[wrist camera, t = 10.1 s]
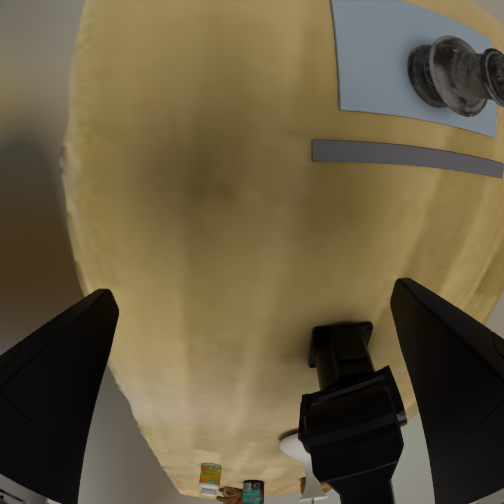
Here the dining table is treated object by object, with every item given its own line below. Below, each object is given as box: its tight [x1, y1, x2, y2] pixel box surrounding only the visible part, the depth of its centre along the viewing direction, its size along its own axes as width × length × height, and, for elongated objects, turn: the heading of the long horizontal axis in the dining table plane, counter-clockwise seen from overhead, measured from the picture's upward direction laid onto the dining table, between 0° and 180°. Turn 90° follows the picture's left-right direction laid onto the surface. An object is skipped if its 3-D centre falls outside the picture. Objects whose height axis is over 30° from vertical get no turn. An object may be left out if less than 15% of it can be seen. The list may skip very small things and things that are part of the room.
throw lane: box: [312, 0, 504, 178], centre depth 14 cm, size 14×20×1 cm
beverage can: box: [242, 480, 264, 504], centre depth 62 cm, size 7×7×12 cm
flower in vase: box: [279, 433, 328, 504], centre depth 31 cm, size 13×11×25 cm
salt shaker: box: [407, 35, 504, 117], centre depth 8 cm, size 6×6×12 cm
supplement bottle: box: [199, 463, 221, 496], centre depth 52 cm, size 5×5×10 cm
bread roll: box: [301, 478, 332, 495], centre depth 62 cm, size 13×10×8 cm
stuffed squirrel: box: [216, 487, 243, 504], centre depth 74 cm, size 10×14×13 cm
